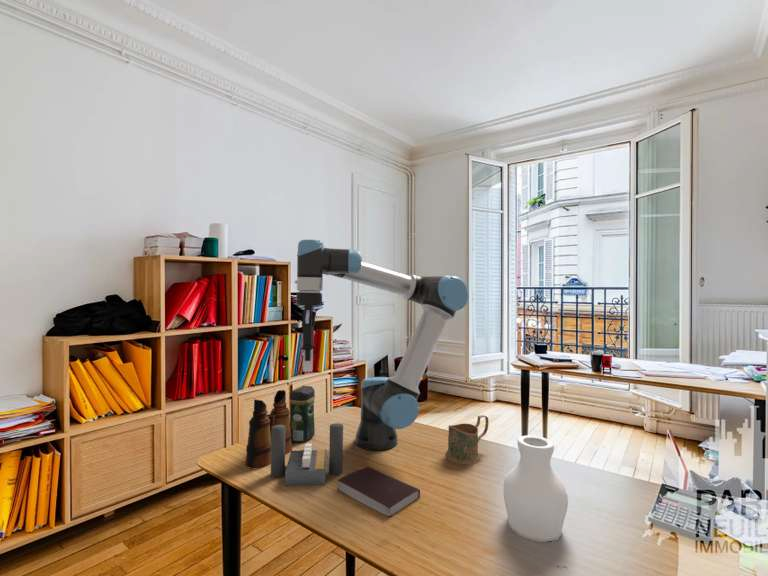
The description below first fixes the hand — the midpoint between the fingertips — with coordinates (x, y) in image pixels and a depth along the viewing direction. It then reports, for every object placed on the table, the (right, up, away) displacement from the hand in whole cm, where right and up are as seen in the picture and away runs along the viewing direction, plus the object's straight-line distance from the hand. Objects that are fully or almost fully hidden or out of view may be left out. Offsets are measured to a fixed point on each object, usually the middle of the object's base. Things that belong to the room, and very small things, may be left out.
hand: (307, 371), depth 117 cm
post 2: (+8, -31, +1) cm, 32 cm away
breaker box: (0, -30, 0) cm, 30 cm away
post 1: (-9, -30, -1) cm, 32 cm away
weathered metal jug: (+51, -31, +15) cm, 62 cm away
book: (+21, -32, -11) cm, 39 cm away
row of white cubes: (0, -26, 0) cm, 26 cm away
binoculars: (-15, -30, +11) cm, 36 cm away
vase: (+58, -32, -24) cm, 71 cm away
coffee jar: (-7, -31, +27) cm, 41 cm away
